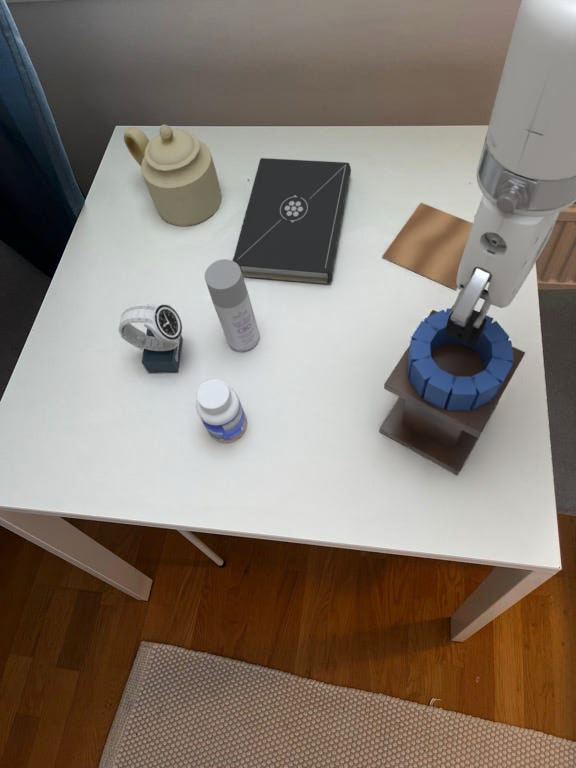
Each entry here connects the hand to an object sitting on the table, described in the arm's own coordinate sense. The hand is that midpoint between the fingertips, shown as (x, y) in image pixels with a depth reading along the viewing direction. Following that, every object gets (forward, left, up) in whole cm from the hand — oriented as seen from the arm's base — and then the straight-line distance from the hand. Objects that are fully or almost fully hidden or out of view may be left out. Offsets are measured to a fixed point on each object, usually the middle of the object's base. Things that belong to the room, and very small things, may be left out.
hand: (484, 300), depth 56 cm
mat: (+13, -21, -22) cm, 33 cm away
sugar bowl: (+54, -9, -22) cm, 59 cm away
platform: (0, +4, -22) cm, 22 cm away
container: (+29, +7, -22) cm, 37 cm away
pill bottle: (+23, +19, -22) cm, 37 cm away
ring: (0, +4, -8) cm, 9 cm away
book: (+34, -14, -22) cm, 43 cm away
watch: (+37, +15, -22) cm, 45 cm away
